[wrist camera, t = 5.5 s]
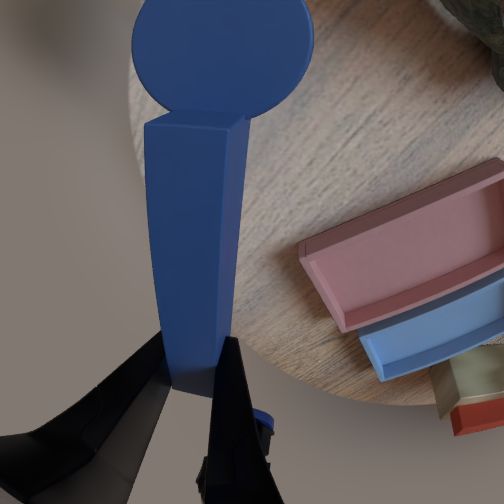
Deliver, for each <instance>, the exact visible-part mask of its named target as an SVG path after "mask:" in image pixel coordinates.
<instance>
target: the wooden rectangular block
mask: <svg viewBox="0 0 504 504" xmlns="http://www.w3.org/2000/svg"><path fill="white" fill-rule="evenodd" d="M429 373H430V377H431V381H432V385H433V389H434V394H435V398H436V403H437V407H438V412H439V418H440V420H443V419H450V418H451V417H450V413H451V412H452V411H453V410H454V409H455V408H456V407H457V406H460V405H467V404H474V403H480V402H485V401H491V400H496V399H501V398H504V344H496V345H481V346H477V347H475V348H473V349H471V350H468V351H466V352H464V353H461V354H459V355H457V356H454V357H452V358H449V359H447V360H444V361H442V362H439V363H437V364H434V365H433V366H432V368H431V369H430V370H429Z"/></svg>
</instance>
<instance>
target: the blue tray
mask: <svg viewBox="0 0 504 504" xmlns="http://www.w3.org/2000/svg"><path fill="white" fill-rule="evenodd" d="M357 330H358V337H359V339H360V341H361V343H362V345H363V347H364V349H365V351H366V353H367V355H368V357H369V359H370V361H371V363H372V366H373V368H374V370H375V372H376V374H377V376H378V378H379V380H380V382H385V381H388V380H391V379H394V378H397V377H400V376H403V375H406V374H409V373H412V372H415V371H418V370H421V369H423V368H426V367H429V366H432V365H434V364H437V363H439V362H442V361H444V360H447V359H449V358H452V357H454V356H457V355H459V354H461V353H464V352H466V351H468V350H471V349H473V348H475V347H477V346H479V345H482V344H484V343H486V342H488V341H490V340H492V339H494V338H496V337H498V336H500V335H502V334H504V268H502V269H500V270H498V271H496V272H494V273H492V274H490V275H488V276H486V277H484V278H482V279H480V280H478V281H475V282H473V283H471V284H469V285H467V286H465V287H462V288H460V289H458V290H456V291H453V292H451V293H449V294H447V295H444V296H442V297H440V298H437V299H435V300H432V301H430V302H428V303H425V304H423V305H420V306H418V307H415V308H413V309H410V310H407V311H405V312H402V313H400V314H397V315H394V316H392V317H389V318H386V319H384V320H381V321H378V322H375V323H372V324H369V325H367V326H364V327H361V328H358V329H357Z"/></svg>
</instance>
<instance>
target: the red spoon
mask: <svg viewBox="0 0 504 504" xmlns="http://www.w3.org/2000/svg"><path fill="white" fill-rule="evenodd" d="M450 417H451V422H452V427H453V432H454V436H460V435H464V434H469V433H474V432H479V431H483V430H487V429H491V428H495V427H499V426H502V425H504V398H501V399H496V400H491V401H485V402H480V403H474V404H467V405H460V406H457V407H456V408H455V409H454V410H453V411H452V412H451V413H450Z"/></svg>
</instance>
